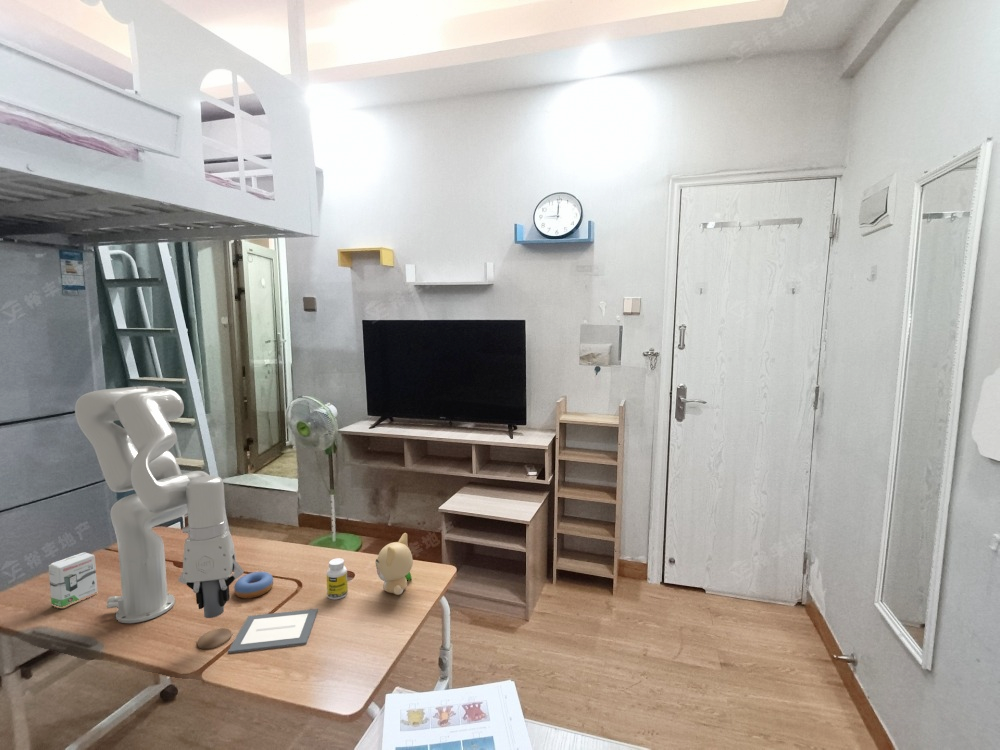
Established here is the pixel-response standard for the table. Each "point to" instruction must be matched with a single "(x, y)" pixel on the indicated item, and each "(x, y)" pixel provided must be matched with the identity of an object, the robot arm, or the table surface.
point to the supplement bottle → (337, 579)
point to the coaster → (214, 638)
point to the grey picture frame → (274, 631)
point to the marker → (211, 599)
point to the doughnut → (253, 585)
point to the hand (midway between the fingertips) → (213, 603)
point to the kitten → (395, 565)
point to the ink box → (72, 579)
